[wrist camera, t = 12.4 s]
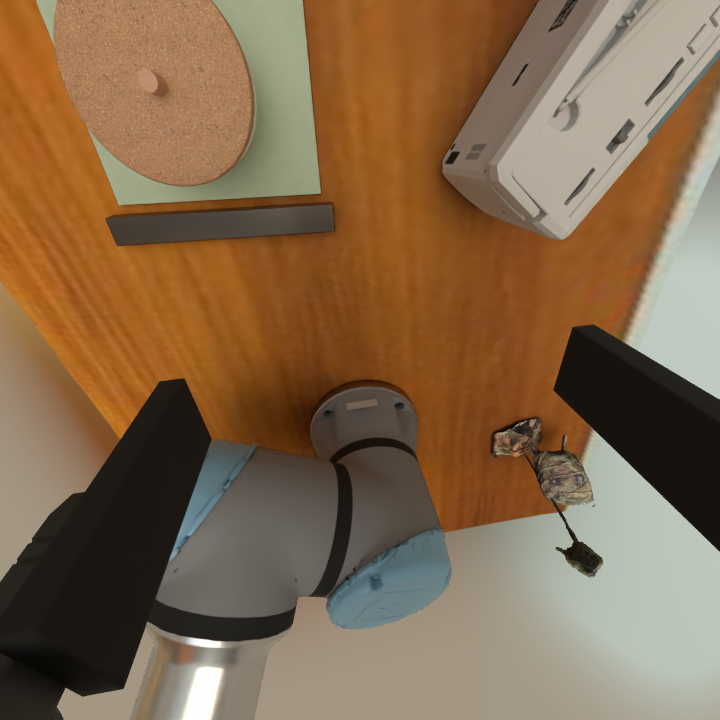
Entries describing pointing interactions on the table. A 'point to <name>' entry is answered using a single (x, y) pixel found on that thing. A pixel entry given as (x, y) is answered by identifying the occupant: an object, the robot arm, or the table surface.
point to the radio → (578, 105)
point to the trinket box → (158, 84)
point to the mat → (274, 113)
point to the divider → (221, 223)
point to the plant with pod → (554, 482)
